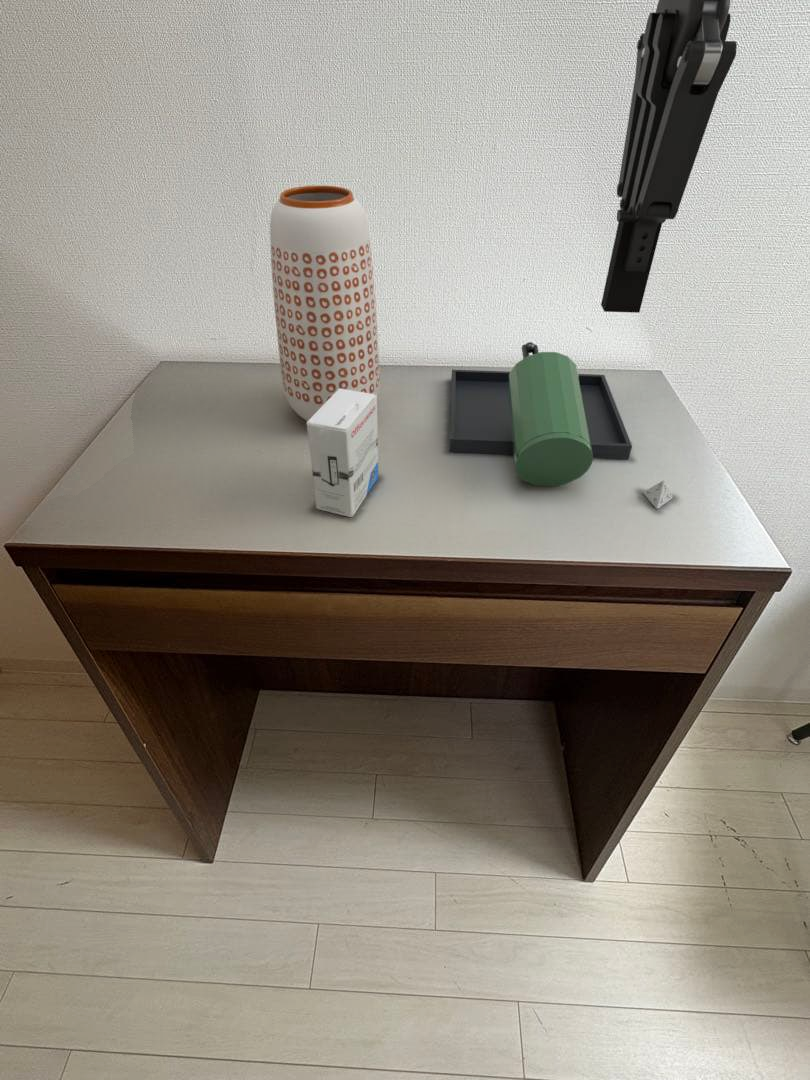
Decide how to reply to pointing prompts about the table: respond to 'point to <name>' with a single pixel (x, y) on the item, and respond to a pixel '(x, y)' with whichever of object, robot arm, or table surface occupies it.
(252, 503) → the table surface
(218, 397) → the table surface
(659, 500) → the tetrahedral die
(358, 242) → the vase
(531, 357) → the cup
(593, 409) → the tray
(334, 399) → the ink box
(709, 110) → the robot arm
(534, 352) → the tongs
